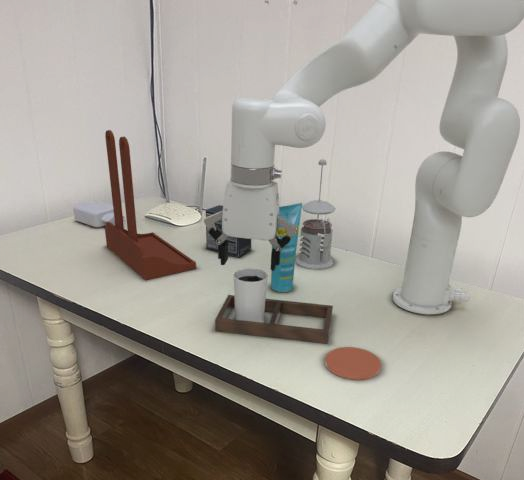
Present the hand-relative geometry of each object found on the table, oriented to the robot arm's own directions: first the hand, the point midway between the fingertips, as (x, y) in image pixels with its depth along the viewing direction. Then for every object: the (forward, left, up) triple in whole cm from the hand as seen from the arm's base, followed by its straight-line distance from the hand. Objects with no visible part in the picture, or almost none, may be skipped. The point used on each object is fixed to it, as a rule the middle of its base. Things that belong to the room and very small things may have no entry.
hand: (248, 265), depth 108 cm
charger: (+51, -48, -12) cm, 72 cm away
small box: (+12, -37, -12) cm, 41 cm away
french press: (-11, -34, -12) cm, 38 cm away
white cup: (0, 0, -12) cm, 12 cm away
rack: (-6, 0, -12) cm, 13 cm away
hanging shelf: (+30, -27, -12) cm, 43 cm away
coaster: (-22, +12, -12) cm, 27 cm away
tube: (-5, -17, -12) cm, 22 cm away
